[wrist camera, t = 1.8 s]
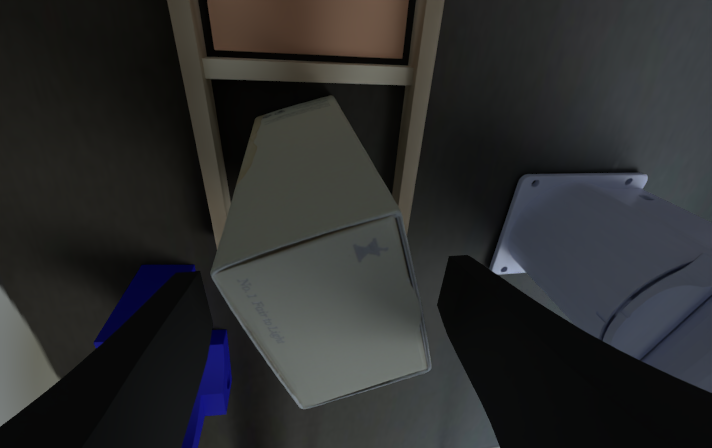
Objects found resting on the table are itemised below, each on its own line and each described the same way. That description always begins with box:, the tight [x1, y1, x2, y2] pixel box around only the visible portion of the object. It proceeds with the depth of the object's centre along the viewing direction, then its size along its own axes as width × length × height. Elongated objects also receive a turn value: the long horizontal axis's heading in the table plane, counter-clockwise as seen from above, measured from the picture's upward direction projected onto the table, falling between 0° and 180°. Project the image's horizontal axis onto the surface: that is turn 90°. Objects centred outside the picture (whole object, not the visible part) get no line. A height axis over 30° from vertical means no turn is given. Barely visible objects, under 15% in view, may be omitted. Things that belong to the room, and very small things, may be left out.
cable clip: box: [94, 265, 232, 448], centre depth 21 cm, size 12×4×6 cm, turn 173°
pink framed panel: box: [167, 0, 445, 249], centre depth 15 cm, size 11×19×2 cm, turn 177°
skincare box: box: [211, 95, 431, 409], centre depth 13 cm, size 6×4×12 cm
